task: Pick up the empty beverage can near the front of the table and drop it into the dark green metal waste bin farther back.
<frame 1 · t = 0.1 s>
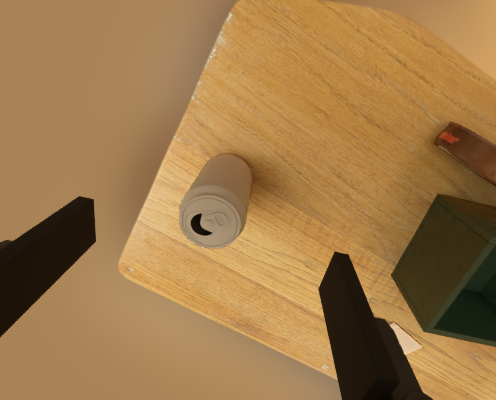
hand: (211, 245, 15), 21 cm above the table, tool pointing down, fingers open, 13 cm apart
beverage can: (228, 175, 36), on the table
waste bin: (460, 248, 37), on the table
tin: (473, 159, 32), on the table
coaster: (387, 344, 47), on the table
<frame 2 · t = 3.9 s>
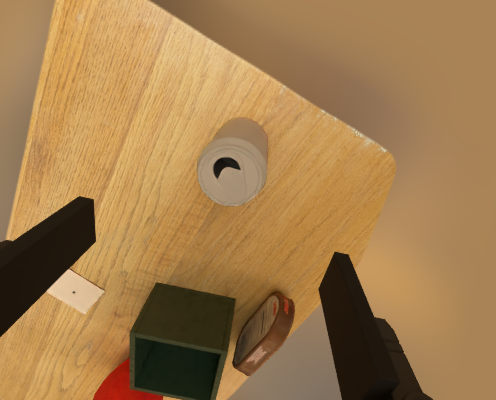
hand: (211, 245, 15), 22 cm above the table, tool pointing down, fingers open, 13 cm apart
beverage can: (242, 142, 34), on the table
waste bin: (191, 318, 49), on the table
tin: (262, 311, 47), on the table
coaster: (75, 290, 48), on the table
apple: (145, 360, 56), on the table
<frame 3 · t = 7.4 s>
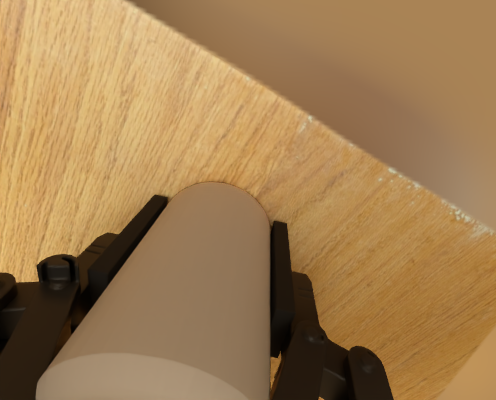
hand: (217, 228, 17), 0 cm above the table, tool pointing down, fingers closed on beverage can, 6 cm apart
beverage can: (219, 223, 17), on the table, touching gripper
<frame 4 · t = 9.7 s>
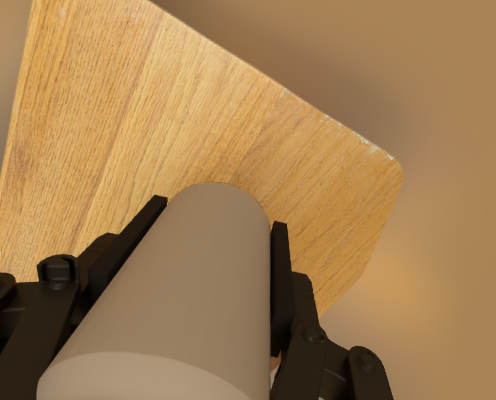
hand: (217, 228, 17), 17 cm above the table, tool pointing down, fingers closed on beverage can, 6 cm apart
beverage can: (219, 223, 17), point 17 cm above the table, touching gripper
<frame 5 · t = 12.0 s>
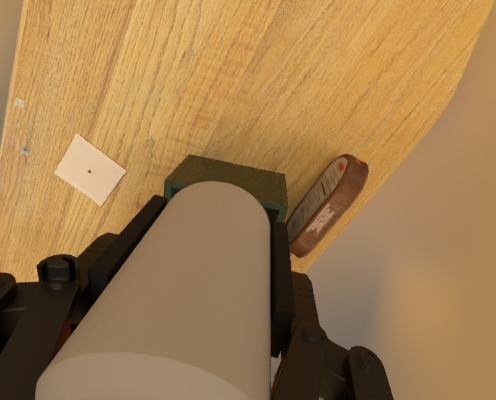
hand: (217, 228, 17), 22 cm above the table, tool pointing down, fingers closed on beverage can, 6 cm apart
beverage can: (219, 222, 17), point 22 cm above the table, touching gripper
waste bin: (229, 206, 41), on the table
tin: (315, 192, 39), on the table
coaster: (90, 171, 40), on the table
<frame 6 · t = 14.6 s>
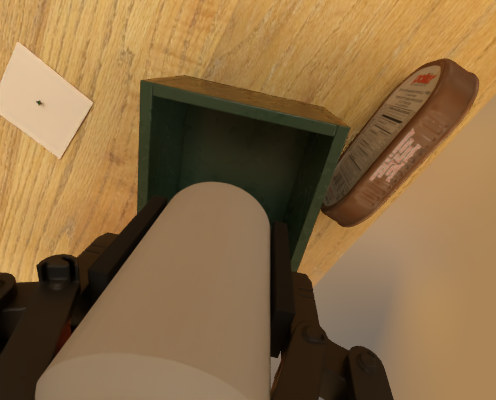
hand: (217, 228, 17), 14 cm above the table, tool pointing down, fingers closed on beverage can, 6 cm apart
beverage can: (219, 223, 17), point 13 cm above the table, touching gripper
waste bin: (240, 159, 29), on the table
tin: (366, 137, 27), on the table
coaster: (42, 104, 28), on the table
when the fingers open (10 cm above the table, at t = 17.1 s): beverage can stays where it is, resting on waste bin.
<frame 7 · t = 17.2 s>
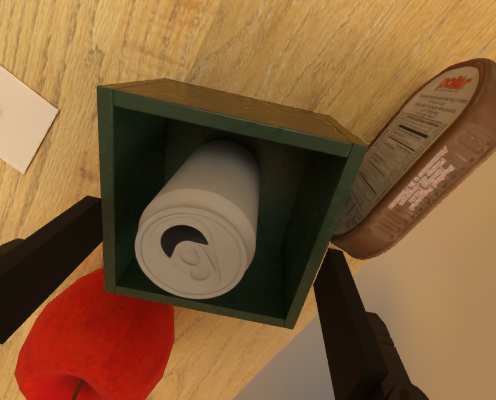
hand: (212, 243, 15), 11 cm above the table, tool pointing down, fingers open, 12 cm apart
beverage can: (225, 172, 24), resting on waste bin
waste bin: (232, 174, 25), on the table
tin: (378, 150, 23), on the table
apple: (141, 278, 31), on the table
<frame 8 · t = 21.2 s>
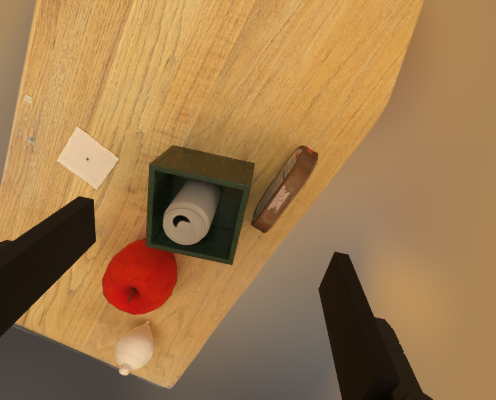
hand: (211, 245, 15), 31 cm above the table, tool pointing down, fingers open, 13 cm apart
beverage can: (203, 190, 47), resting on waste bin
spinning top: (148, 320, 64), on the table
waste bin: (207, 191, 48), on the table
tin: (280, 179, 46), on the table
coaster: (88, 159, 47), on the table
apple: (158, 249, 54), on the table
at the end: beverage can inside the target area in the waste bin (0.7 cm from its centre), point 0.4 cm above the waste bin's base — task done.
